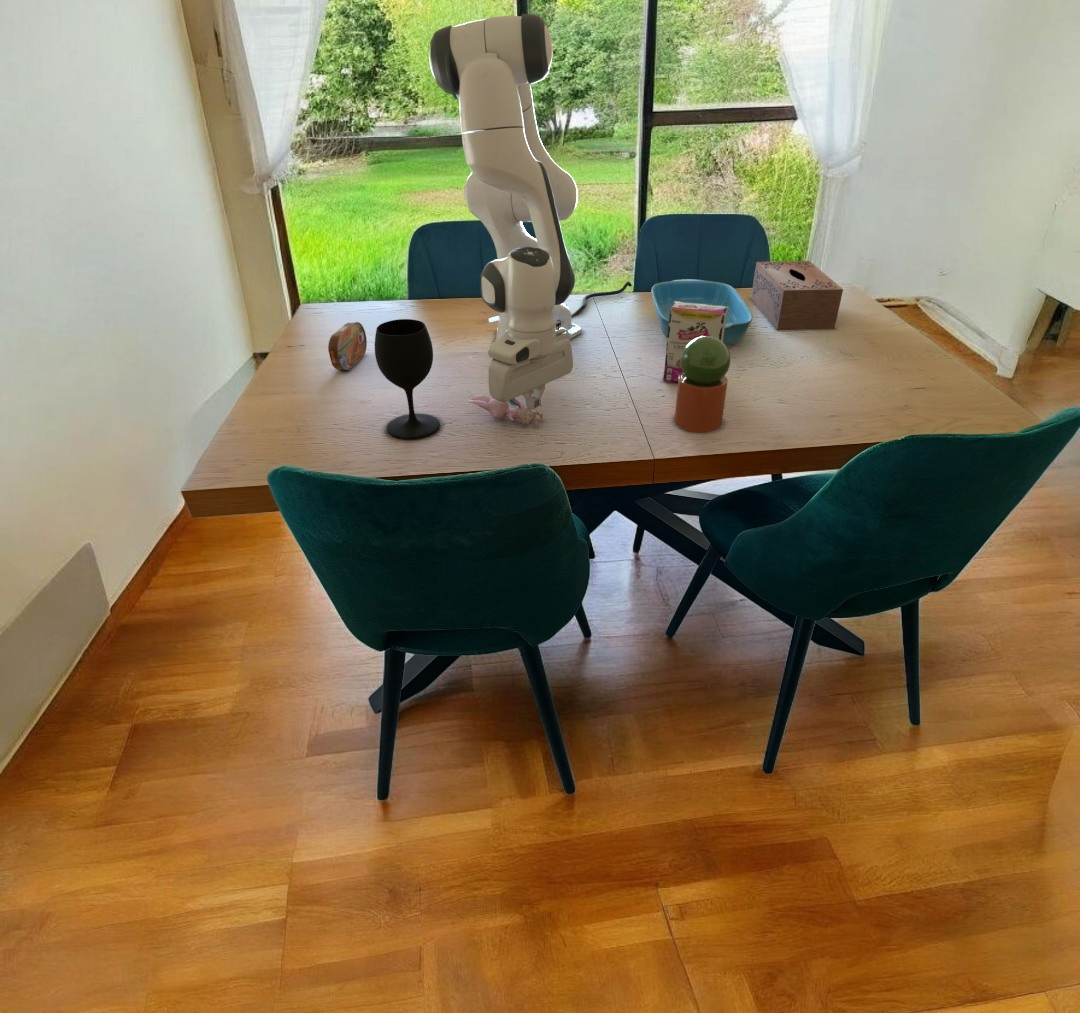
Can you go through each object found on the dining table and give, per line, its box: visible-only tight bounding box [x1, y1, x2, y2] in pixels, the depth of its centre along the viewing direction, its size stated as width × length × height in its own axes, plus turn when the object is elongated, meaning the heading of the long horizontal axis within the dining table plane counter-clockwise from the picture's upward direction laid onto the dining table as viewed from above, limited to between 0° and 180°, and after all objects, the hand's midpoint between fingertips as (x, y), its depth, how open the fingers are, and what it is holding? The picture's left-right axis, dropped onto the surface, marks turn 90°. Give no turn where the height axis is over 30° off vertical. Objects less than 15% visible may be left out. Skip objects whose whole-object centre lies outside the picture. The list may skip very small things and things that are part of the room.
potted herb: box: [674, 336, 731, 433], centre depth 135 cm, size 9×9×17 cm
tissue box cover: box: [750, 260, 844, 331], centre depth 188 cm, size 26×14×10 cm, turn 0°
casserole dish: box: [651, 278, 754, 347], centre depth 181 cm, size 37×22×7 cm, turn 179°
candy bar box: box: [663, 301, 727, 384], centre depth 151 cm, size 11×5×16 cm, turn 71°
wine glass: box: [374, 318, 441, 441], centre depth 134 cm, size 10×10×20 cm
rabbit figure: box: [468, 394, 543, 428], centre depth 140 cm, size 6×6×15 cm
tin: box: [327, 321, 368, 371], centre depth 165 cm, size 15×3×8 cm, turn 168°
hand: (533, 406), depth 142 cm, fingers closed
